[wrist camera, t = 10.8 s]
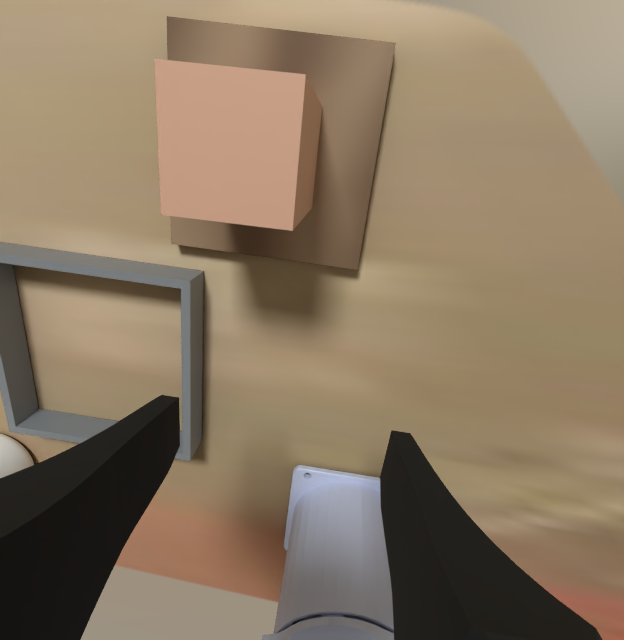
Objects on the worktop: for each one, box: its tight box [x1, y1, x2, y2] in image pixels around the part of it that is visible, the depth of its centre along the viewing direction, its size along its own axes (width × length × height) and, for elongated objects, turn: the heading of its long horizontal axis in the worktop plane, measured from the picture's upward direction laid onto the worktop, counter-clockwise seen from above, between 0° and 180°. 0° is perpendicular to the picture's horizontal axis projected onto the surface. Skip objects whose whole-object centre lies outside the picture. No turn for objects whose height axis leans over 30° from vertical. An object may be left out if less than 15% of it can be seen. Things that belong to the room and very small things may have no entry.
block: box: [155, 59, 322, 231], centre depth 15 cm, size 4×4×7 cm
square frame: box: [0, 242, 204, 461], centre depth 24 cm, size 12×12×2 cm
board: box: [167, 16, 396, 270], centre depth 19 cm, size 10×10×1 cm
